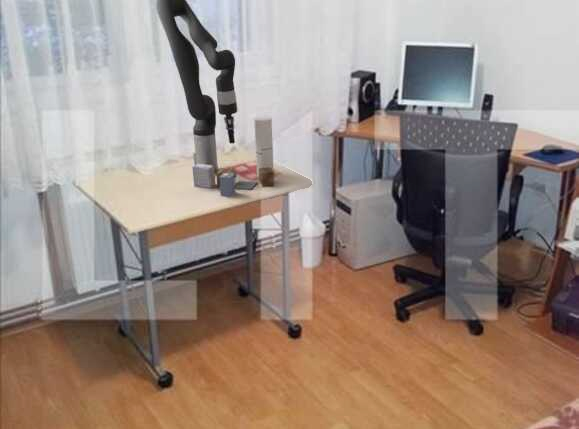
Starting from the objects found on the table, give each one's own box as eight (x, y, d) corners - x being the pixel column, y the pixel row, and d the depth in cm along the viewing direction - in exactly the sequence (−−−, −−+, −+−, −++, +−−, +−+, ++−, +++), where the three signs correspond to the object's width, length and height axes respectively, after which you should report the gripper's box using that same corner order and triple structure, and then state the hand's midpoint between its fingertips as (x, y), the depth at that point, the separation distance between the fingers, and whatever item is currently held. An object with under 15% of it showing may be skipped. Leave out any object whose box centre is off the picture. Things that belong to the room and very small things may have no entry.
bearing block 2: (261, 187, 262) (260, 173, 260) (258, 182, 268) (257, 168, 265) (274, 185, 263) (273, 171, 261) (271, 180, 269) (270, 167, 266)
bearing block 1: (217, 186, 264) (216, 172, 262) (222, 181, 269) (221, 168, 267) (233, 187, 262) (232, 174, 260) (238, 182, 267) (237, 169, 265)
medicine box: (215, 185, 266) (214, 165, 262) (210, 188, 262) (208, 168, 259) (199, 183, 269) (197, 163, 265) (193, 186, 265) (192, 166, 262)
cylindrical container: (273, 178, 272) (271, 120, 262) (256, 178, 272) (253, 120, 262) (274, 172, 278) (271, 115, 268) (257, 172, 278) (254, 116, 269)
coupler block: (220, 195, 254) (219, 176, 251) (225, 191, 258) (223, 172, 255) (231, 196, 253) (230, 176, 250) (235, 192, 257) (234, 173, 254)
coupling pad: (232, 188, 261) (232, 187, 261) (239, 182, 268) (239, 180, 268) (250, 190, 259) (250, 188, 259) (257, 183, 266) (257, 182, 266)
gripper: (217, 98, 265) (222, 136, 271) (218, 106, 252) (223, 146, 258) (235, 96, 265) (239, 134, 272) (237, 104, 252) (241, 144, 259)
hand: (231, 140), depth 265 cm, fingers open, 8 cm apart
